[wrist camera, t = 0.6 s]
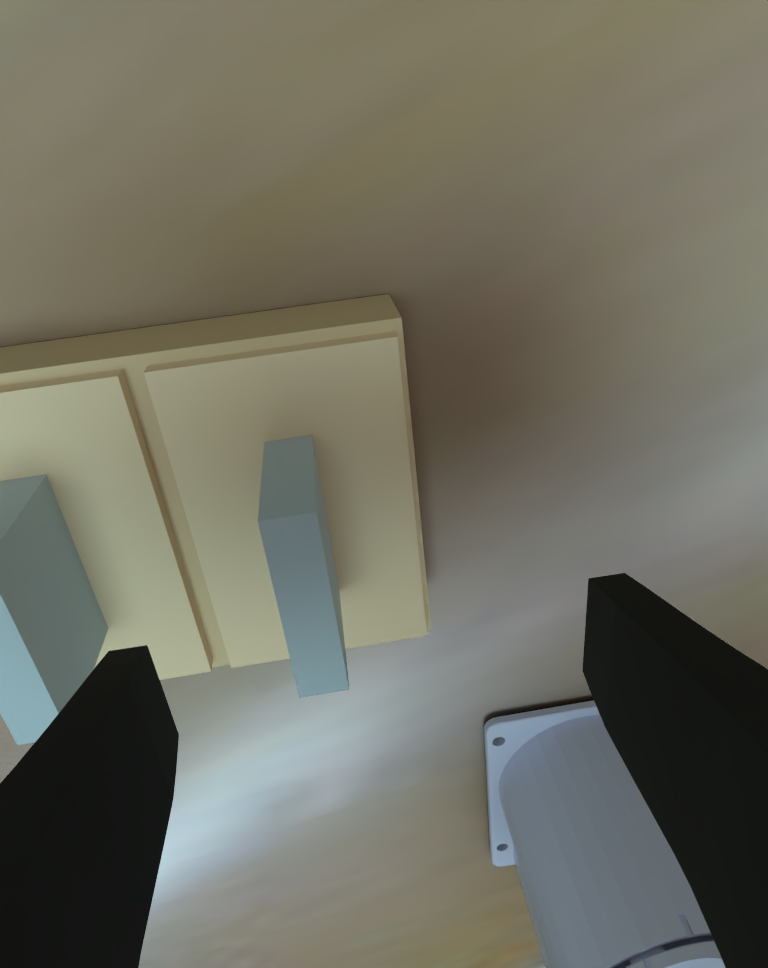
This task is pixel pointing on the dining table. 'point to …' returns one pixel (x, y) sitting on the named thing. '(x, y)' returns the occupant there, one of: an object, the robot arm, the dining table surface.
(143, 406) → the panel
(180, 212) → the dining table surface
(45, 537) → the flap
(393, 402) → the flap
